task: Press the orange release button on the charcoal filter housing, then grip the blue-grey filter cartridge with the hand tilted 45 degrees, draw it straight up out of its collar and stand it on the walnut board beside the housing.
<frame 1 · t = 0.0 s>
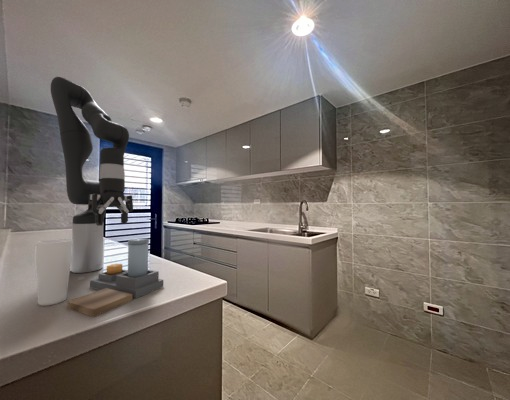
hand: (112, 224, 76), 17 cm above the counter, tool pointing down, fingers open, 8 cm apart
release button: (114, 268, 66), point 5 cm above the counter, slide at 0.0 cm
filter housing: (126, 286, 64), on the counter
drinking glass: (52, 302, 54), on the counter
walnut board: (100, 303, 53), on the counter
cartridge: (137, 282, 62), point 2 cm above the counter, touching filter housing
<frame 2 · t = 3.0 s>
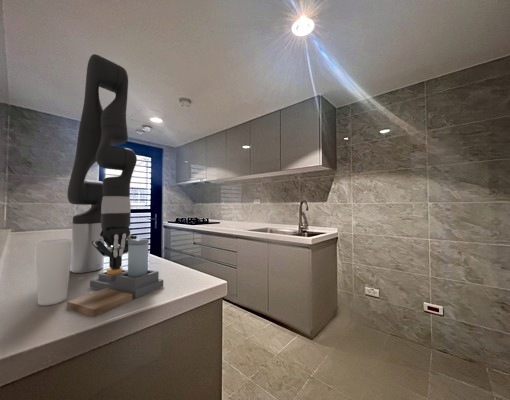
hand: (115, 269, 66), 5 cm above the counter, tool pointing down, fingers closed
release button: (114, 272, 66), point 4 cm above the counter, slide at 1.0 cm, touching gripper
everything else where it was.
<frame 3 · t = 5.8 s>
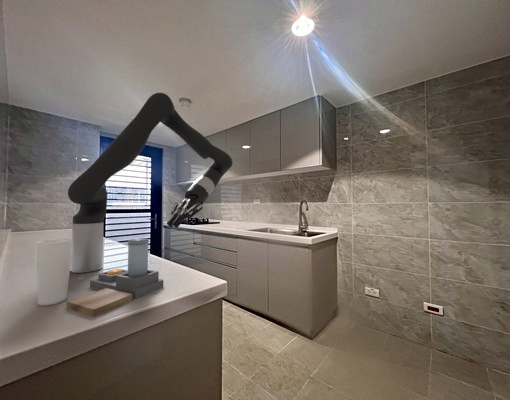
hand: (171, 225, 71), 17 cm above the counter, tool tilted 45°, fingers closed
release button: (114, 274, 66), point 3 cm above the counter, slide at 1.6 cm
everything else where it was.
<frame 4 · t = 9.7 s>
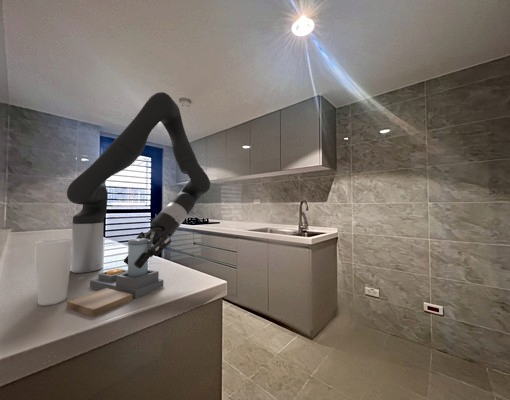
hand: (131, 264, 60), 7 cm above the counter, tool tilted 45°, fingers closed on cartridge, 5 cm apart
cartridge: (137, 282, 62), point 2 cm above the counter, touching filter housing, gripper
everything else where it was.
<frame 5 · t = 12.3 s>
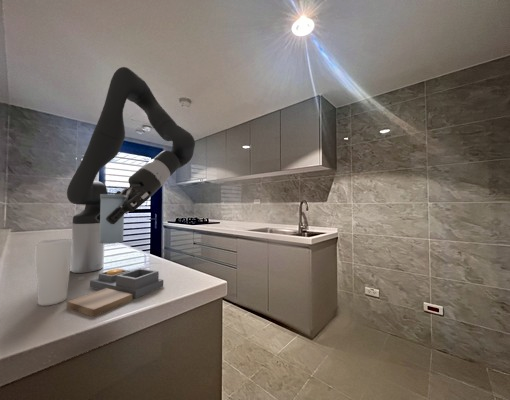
hand: (104, 221, 54), 20 cm above the counter, tool tilted 45°, fingers closed on cartridge, 5 cm apart
cartridge: (111, 241, 55), point 15 cm above the counter, touching gripper
everything else where it was.
when the fingers open (8 cm above the counter, at t = 15.2 s): cartridge drops 1 cm, resting on walnut board.
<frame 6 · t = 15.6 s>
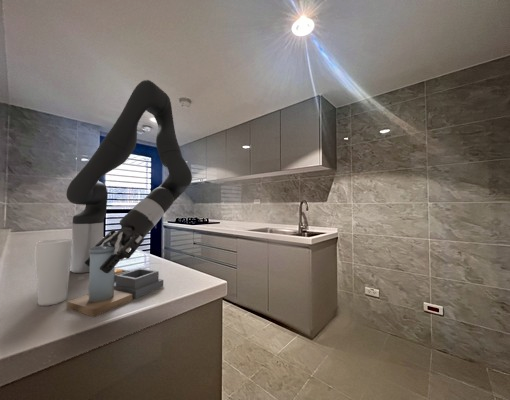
hand: (95, 268, 52), 9 cm above the counter, tool tilted 45°, fingers open, 8 cm apart
cartridge: (101, 297, 53), point 2 cm above the counter, touching walnut board
everything else where it was.
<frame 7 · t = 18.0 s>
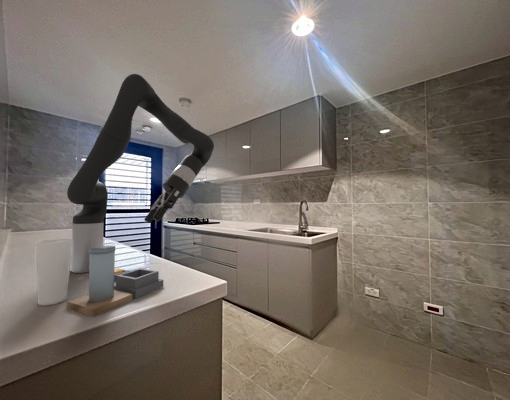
hand: (151, 220, 66), 19 cm above the counter, tool tilted 35°, fingers open, 8 cm apart
nothing on the counter moved.
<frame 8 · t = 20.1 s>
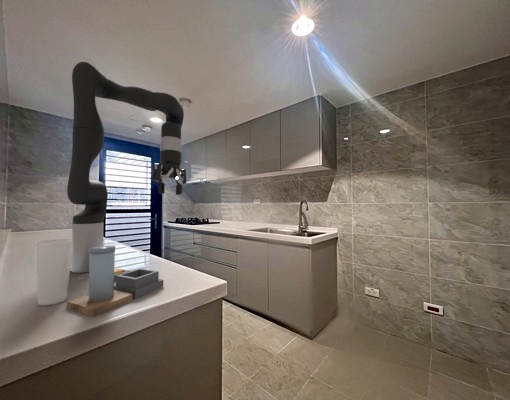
hand: (170, 194, 81), 28 cm above the counter, tool pointing down, fingers open, 8 cm apart
nothing on the counter moved.
at the end: release button slide at 1.6 cm; cartridge 0.1 cm off-centre on the walnut board, point 1.5 cm above the walnut board's base; cartridge tilted 0° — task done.
